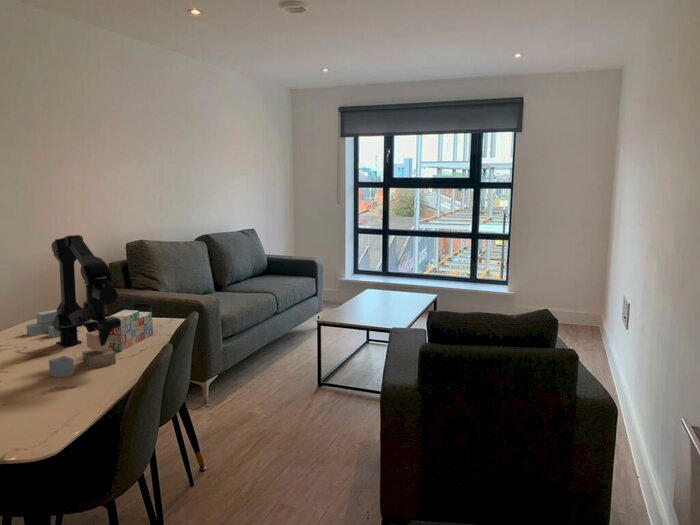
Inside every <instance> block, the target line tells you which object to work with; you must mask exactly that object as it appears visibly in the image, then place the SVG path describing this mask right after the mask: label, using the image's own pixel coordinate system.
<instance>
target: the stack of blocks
mask: <svg viewBox="0 0 700 525" xmlns="http://www.w3.org/2000/svg"><path fill="white" fill-rule="evenodd" d="M152 312H153V311H151V312H139V311H134V310H127V309H124V310H121V311H118V312H116V313H115V314H111V315H109V316H108V317H116V318H119V319H120V320H121V326H120V327H116V328H113V329H112V331H111V333H110V335H109V345H110V347H108V348H110V349H111V350H112V351H114V352H123V351H125V350H127V349H129V348H130V347H133V346H135V345H136V344H138V343H139V342H141V341H144V340H145V339H147V338H149V337H151V336H152V335H154V326H153V324H154V322H153V313H152ZM108 317H106V318H108Z"/></svg>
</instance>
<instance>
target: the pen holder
mask: <svg viewBox="0 0 700 525" xmlns="http://www.w3.org/2000/svg"><path fill="white" fill-rule="evenodd" d="M126 310H134V311H139V312H152V305H151V304H150V303H146V302H145V303H144V302H140V303H139V302H137V303H132V304H130V305H128V307H126Z"/></svg>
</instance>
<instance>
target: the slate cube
mask: <svg viewBox="0 0 700 525" xmlns="http://www.w3.org/2000/svg"><path fill="white" fill-rule="evenodd" d="M48 366H49V369H48V370H49V375H50V376H51V377H53V378H55V379H63V378H64V377H65V378H66V377H68V376H72V375H75V368H74V358H71V357H68V356H67V355H63V356H60V357H56V358H52V359H49V360H48Z"/></svg>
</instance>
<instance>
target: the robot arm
mask: <svg viewBox="0 0 700 525" xmlns="http://www.w3.org/2000/svg"><path fill="white" fill-rule="evenodd" d="M51 251H52V253H53V257H54V258H55V259H56V260H57V262H58V263H59V264H58V265H59V278H60V279H59V280H60V281H59V282H60V298H61V300H60V301H61V302H60V303H59V305H58V307H57V308H56V309H57V315H56V316H55V319H54V321H53V326H54V329H56V330H58V331H60V336H59V341H56V343H55V344H56V345H58V346H62V347H64V348H65V347H66V348H67V347H70V346H73V345H78V344H82V343H83V341H81V340H79V339H78V328H81V327H85V329H86V331H87V333H88V332H93V331H98V332H99V338H100V343H101V346H104V345H105V343H106V341H107V339H108V337H109V335H110V333H111V331H112V329H113V328H116V327H120V326H121V320H120V319H119V318H116V317H109V316H110V313H109V312H107V305H112V304H113V303H114V302H116V301H117V299H118V296H119V294H118V292H117V289H116V288H114V287H112V283H113V282H114V281H113V277H114V275H112V272H111V270H110V268H109V266H108V264H107V263H106V262H105V261H104V260H103V259H102V258H101V257H98V256H95V255H94V254H93V252H92V251H91V249H90V248H89V247H88V246H87V244H86V242H85V241H84V238H83V236H82V235H80V234H75V235H74V234H73V235H67V236H64V237H62V238H57V239H56V238H55V239H54V241H53V242H51ZM76 261H78V263H79V264H80V265H81V266H80V275H81V277H82V279H83V280H84V284H85V295H86V296H85V297H86V301H84V302H83V305H82V306H83V307H81V306H80V305H79V304H78V302H77V298H76V297H77V295H76V277H75V276H76V274H75V272H76V270H75V262H76ZM107 317H108V318H107Z"/></svg>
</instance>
